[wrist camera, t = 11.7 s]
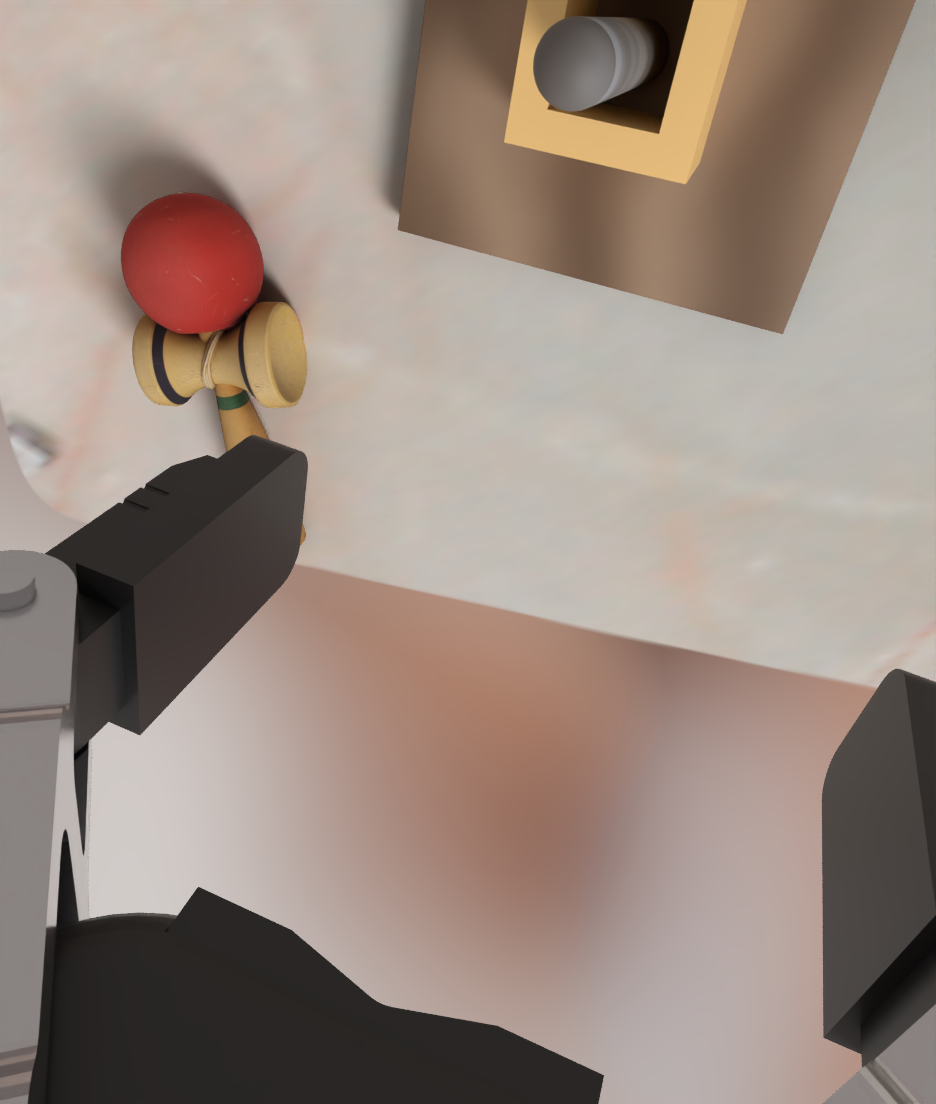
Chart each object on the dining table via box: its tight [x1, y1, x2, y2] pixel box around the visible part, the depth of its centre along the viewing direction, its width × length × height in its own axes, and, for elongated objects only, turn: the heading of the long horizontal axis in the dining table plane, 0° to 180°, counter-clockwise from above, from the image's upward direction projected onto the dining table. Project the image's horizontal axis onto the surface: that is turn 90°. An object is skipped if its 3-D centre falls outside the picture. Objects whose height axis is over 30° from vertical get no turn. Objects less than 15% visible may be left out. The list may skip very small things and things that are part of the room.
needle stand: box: [398, 0, 916, 334], centre depth 25 cm, size 16×16×14 cm
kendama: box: [121, 192, 307, 545], centre depth 41 cm, size 8×6×18 cm
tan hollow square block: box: [504, 0, 747, 184], centre depth 28 cm, size 6×6×5 cm
